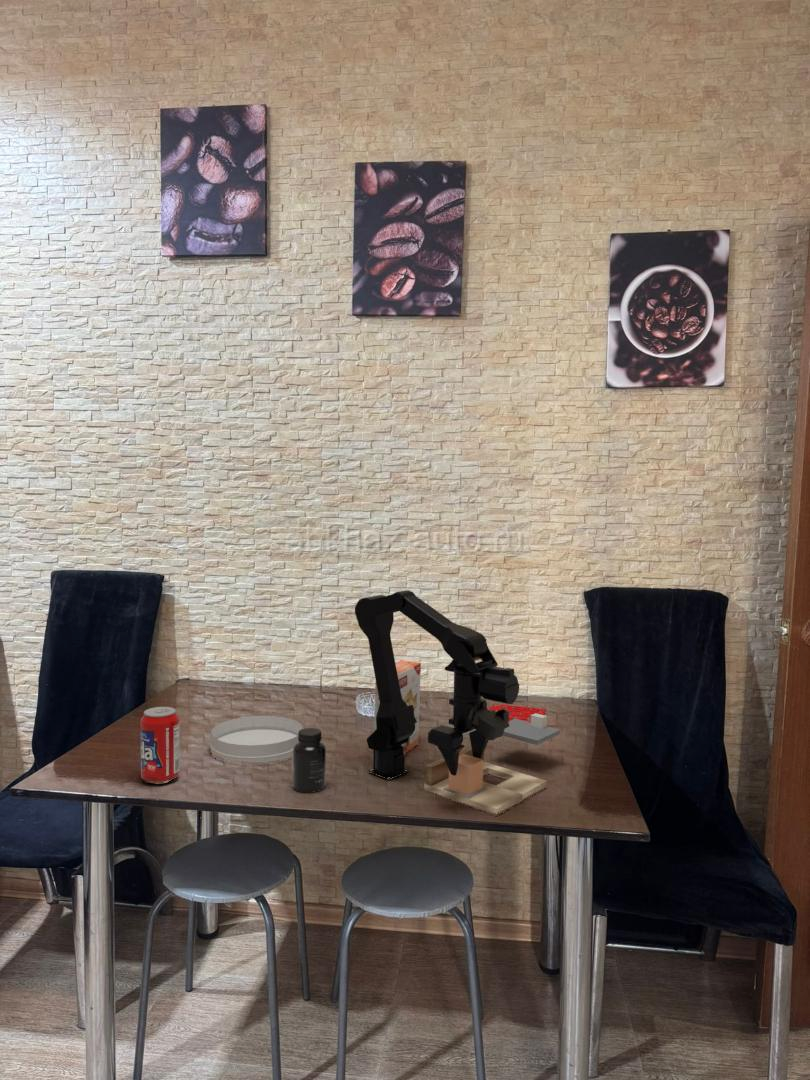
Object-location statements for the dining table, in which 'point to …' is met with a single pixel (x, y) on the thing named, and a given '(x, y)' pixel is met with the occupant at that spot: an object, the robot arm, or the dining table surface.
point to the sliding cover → (531, 730)
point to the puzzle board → (484, 785)
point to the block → (467, 775)
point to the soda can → (160, 744)
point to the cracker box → (407, 694)
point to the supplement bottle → (309, 761)
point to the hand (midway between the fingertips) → (465, 769)
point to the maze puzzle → (518, 709)
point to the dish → (255, 738)
